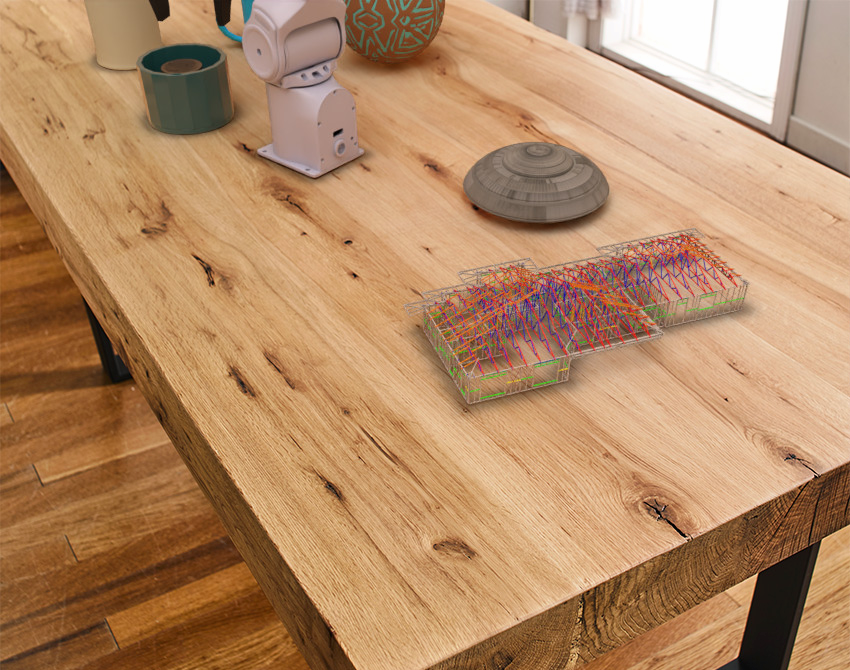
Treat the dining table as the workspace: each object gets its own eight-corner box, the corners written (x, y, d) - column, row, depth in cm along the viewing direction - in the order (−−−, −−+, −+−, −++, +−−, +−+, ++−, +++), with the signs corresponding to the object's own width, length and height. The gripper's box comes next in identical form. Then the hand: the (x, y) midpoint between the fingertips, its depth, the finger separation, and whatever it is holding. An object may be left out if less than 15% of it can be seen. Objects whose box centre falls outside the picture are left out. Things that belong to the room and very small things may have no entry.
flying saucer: (615, 174, 100) (622, 125, 96) (597, 243, 89) (604, 191, 86) (480, 158, 103) (482, 110, 99) (446, 224, 92) (447, 173, 89)
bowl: (251, 114, 113) (243, 56, 108) (184, 142, 107) (173, 82, 102) (198, 93, 118) (188, 36, 113) (132, 118, 112) (118, 60, 107)
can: (97, 73, 123) (74, -23, 115) (96, 49, 130) (74, -43, 122) (168, 66, 125) (149, -30, 117) (163, 42, 131) (146, -49, 123)
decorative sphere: (425, 86, 119) (423, -40, 109) (317, 74, 122) (306, -50, 112) (458, 46, 129) (459, -72, 119) (358, 36, 133) (351, -80, 123)
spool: (214, 115, 111) (207, 69, 107) (175, 123, 110) (166, 76, 106) (203, 101, 114) (196, 56, 111) (165, 108, 113) (156, 62, 109)
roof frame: (687, 245, 89) (697, 196, 85) (783, 332, 78) (799, 279, 75) (391, 306, 82) (389, 255, 78) (452, 411, 71) (453, 358, 67)
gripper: (91, -106, 97) (120, 27, 106) (219, -99, 94) (238, 37, 103) (123, -121, 102) (149, 8, 111) (245, -115, 99) (261, 16, 108)
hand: (193, 21), depth 108 cm, fingers open, 7 cm apart
